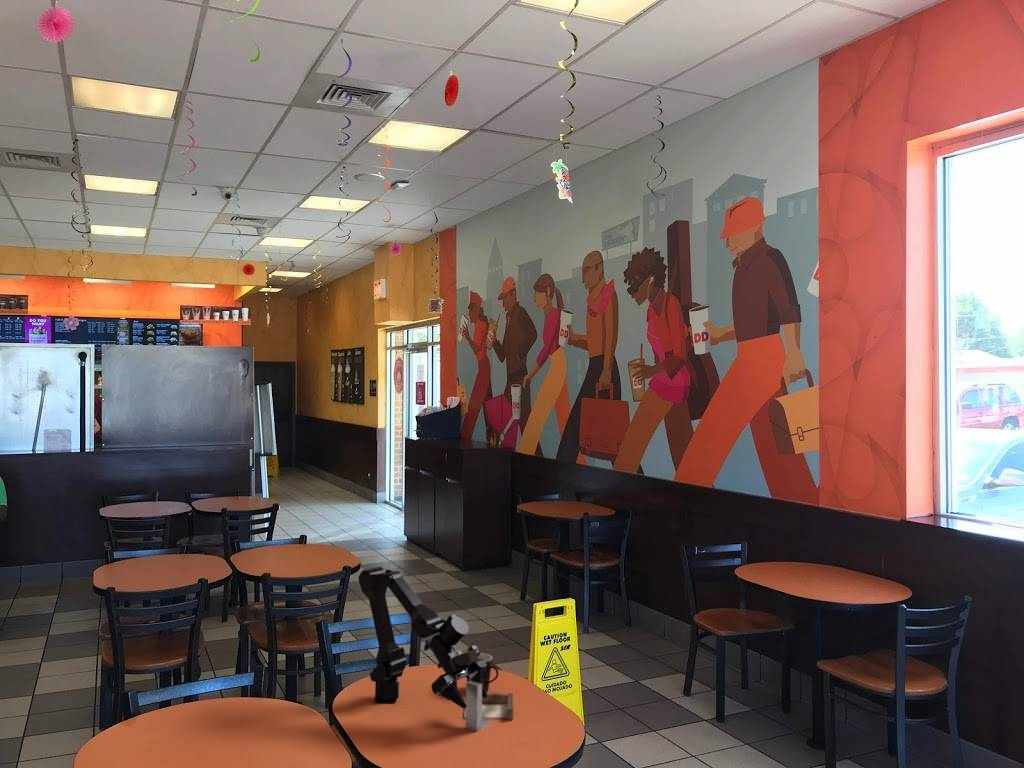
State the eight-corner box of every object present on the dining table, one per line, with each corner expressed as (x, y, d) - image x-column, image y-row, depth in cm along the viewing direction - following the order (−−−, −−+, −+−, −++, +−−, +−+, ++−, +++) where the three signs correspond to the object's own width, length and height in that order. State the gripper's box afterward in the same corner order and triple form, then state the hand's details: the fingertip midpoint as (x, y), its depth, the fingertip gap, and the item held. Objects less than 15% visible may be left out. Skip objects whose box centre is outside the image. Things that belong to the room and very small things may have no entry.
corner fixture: (463, 719, 227) (463, 708, 227) (465, 702, 239) (465, 692, 239) (512, 719, 227) (513, 709, 227) (512, 703, 239) (512, 693, 239)
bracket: (465, 727, 222) (466, 682, 222) (478, 720, 226) (479, 676, 226) (476, 731, 219) (477, 685, 219) (490, 724, 224) (490, 679, 224)
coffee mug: (460, 687, 252) (460, 655, 252) (485, 683, 255) (485, 651, 255) (474, 700, 241) (474, 667, 241) (500, 696, 245) (500, 663, 245)
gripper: (439, 646, 216) (471, 696, 210) (482, 630, 232) (512, 676, 225) (417, 669, 221) (447, 719, 214) (461, 652, 236) (490, 698, 230)
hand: (476, 702), depth 221 cm, fingers open, 9 cm apart
